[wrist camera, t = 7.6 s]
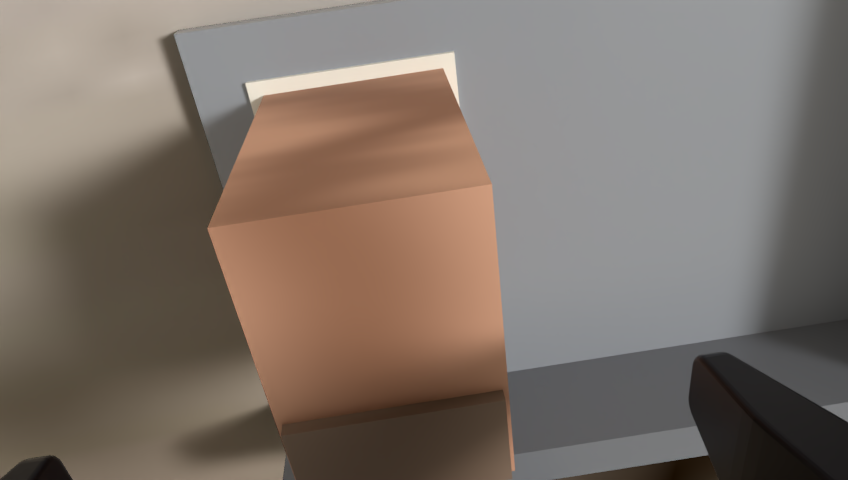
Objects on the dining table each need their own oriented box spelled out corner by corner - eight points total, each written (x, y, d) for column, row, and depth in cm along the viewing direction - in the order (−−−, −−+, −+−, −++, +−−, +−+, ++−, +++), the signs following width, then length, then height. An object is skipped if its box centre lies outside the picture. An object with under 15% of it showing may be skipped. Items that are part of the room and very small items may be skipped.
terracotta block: (443, 68, 14) (495, 191, 9) (467, 288, 17) (517, 481, 12) (263, 95, 14) (203, 237, 9) (320, 311, 17) (303, 516, 12)
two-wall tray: (869, 335, 20) (957, 415, 17) (302, 424, 20) (292, 520, 17) (999, -91, 14) (1170, -81, 11) (178, 30, 14) (129, 74, 11)
